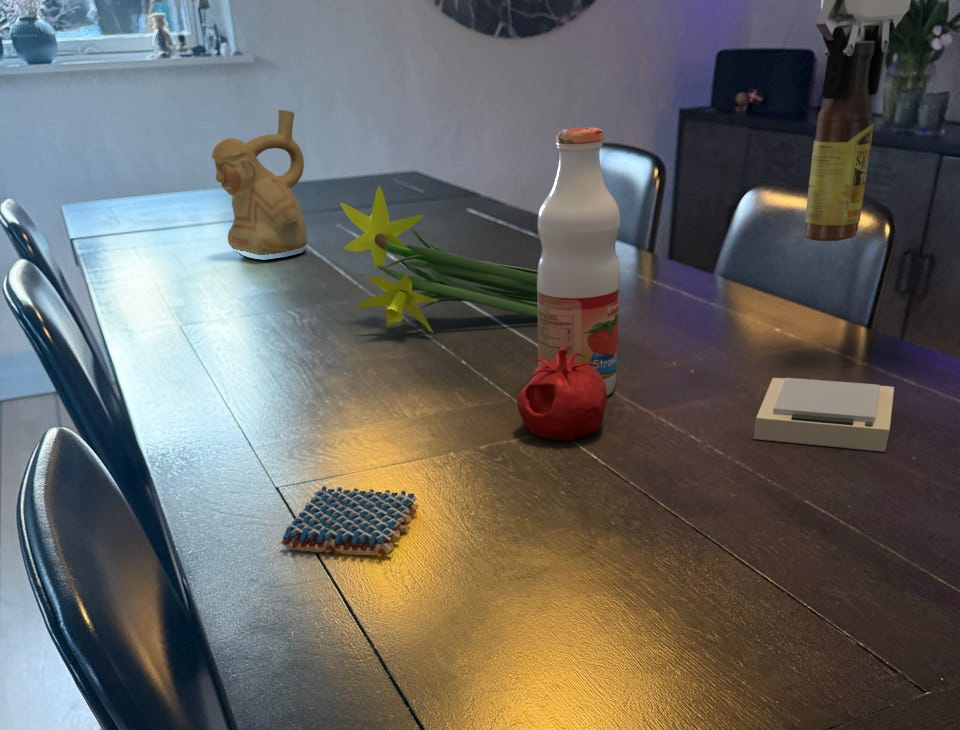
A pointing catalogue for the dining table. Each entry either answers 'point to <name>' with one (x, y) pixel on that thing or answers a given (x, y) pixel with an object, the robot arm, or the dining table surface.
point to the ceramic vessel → (262, 192)
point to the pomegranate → (563, 398)
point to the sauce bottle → (841, 158)
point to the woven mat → (351, 522)
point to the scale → (826, 413)
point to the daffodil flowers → (434, 271)
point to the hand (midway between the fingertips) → (850, 94)
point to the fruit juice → (579, 259)
